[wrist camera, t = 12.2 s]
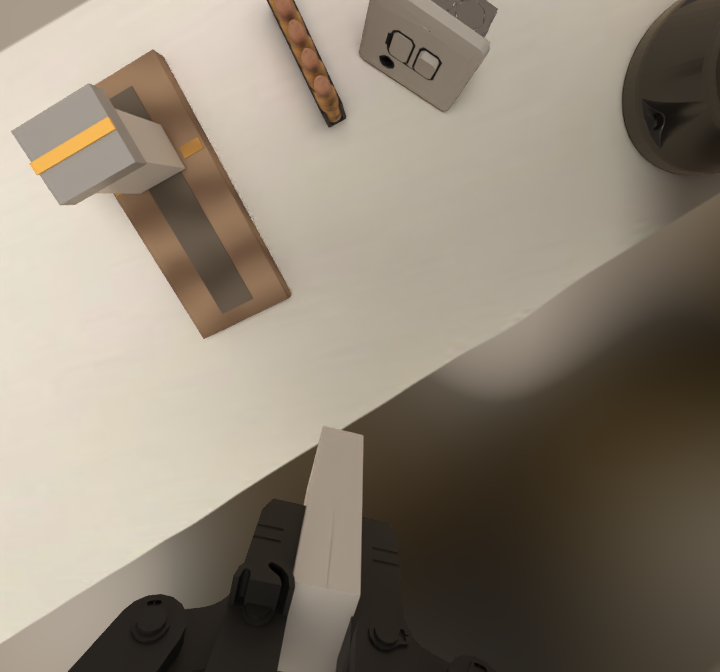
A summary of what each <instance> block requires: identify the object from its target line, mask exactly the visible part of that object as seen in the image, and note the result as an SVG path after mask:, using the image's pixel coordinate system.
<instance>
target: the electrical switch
mask: <svg viewBox="0 0 720 672" xmlns="http://www.w3.org/2000/svg"><path fill="white" fill-rule="evenodd" d="M477 1H478V2H477ZM460 2H461V4H460ZM454 3H455V5H454V7H453V4H454ZM459 4H460V5H459ZM497 10H498V9H497V8H496V7H494V6H493V5H492V4H490V3H489V2H487V1H486V0H370V1H369V6H368V11H367V16H366V21H365V26H364V30H363V35H362V40H361V45H360V50H359V53H360V54H361V56H362V58H363V59H364V60H366V61H367V62H369V63H370V64H372V65H373V66H375V67H376V68H378V69H379V70H381V71H382V72H384V73H385V74H387V75H388V76H390V77H391V78H393V79H394V80H396V81H397V82H399V83H400V84H402V85H404V86H405V87H407V88H408V89H410V90H411V91H413V92H414V93H416V94H417V95H419V96H420V97H422V98H423V99H425V100H426V101H428V102H429V103H431V104H432V105H434V106H435V107H437V108H438V109H440V110H442V111H447V110H448V109H449V108H450V106H451V105H452V104H453V102H454V101H455V100H456V98H457V97H458V95H459V94H460V92H461V91H462V90H463V88H464V87H465V85H466V84H467V82H468V81H469V80H470V78H471V77H472V75H473V74H474V72H475V71H476V70H477V68H478V67H479V65H480V64H481V62H482V61H483V59H484V58H485V56H486V55H487V54H488V52H489V48H490V42H489V41H488V40H486V39H485V38H484V37H485V35H486V34H487V32H488V29H489V27H490V24H491V23H492V21H493V19H494V17H495V16H494V15H496V12H497ZM448 11H450V12H448ZM456 14H457V17H456ZM484 14H485V17H484ZM457 18H458V19H457ZM475 29H476V30H475ZM474 30H475V31H474Z"/></svg>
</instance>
